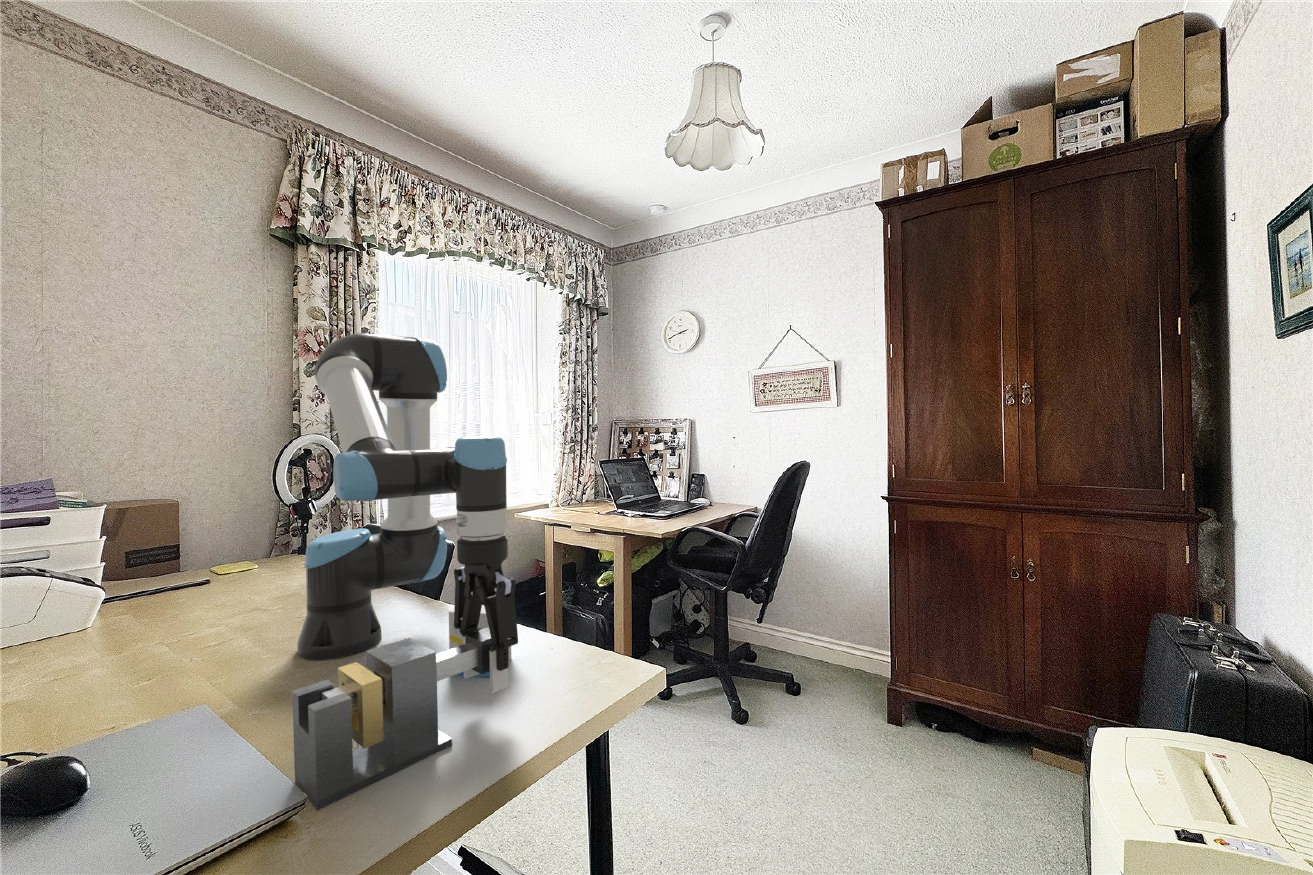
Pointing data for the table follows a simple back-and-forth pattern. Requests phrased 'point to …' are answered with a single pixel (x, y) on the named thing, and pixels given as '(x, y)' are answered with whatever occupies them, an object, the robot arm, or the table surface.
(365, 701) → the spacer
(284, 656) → the table surface
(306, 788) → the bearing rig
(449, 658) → the shaft
